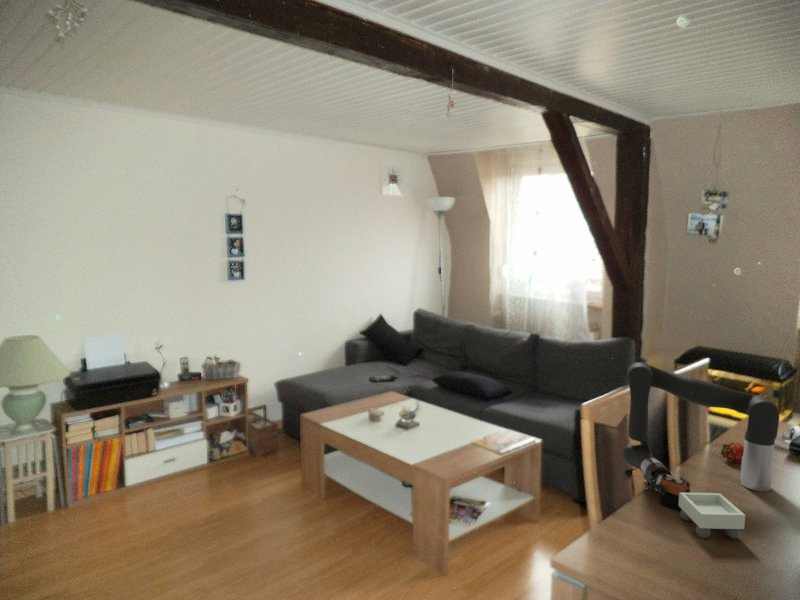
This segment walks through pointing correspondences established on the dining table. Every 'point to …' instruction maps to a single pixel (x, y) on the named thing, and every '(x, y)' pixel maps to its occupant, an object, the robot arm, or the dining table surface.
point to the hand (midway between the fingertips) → (676, 492)
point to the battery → (672, 492)
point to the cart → (711, 513)
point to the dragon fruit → (733, 452)
